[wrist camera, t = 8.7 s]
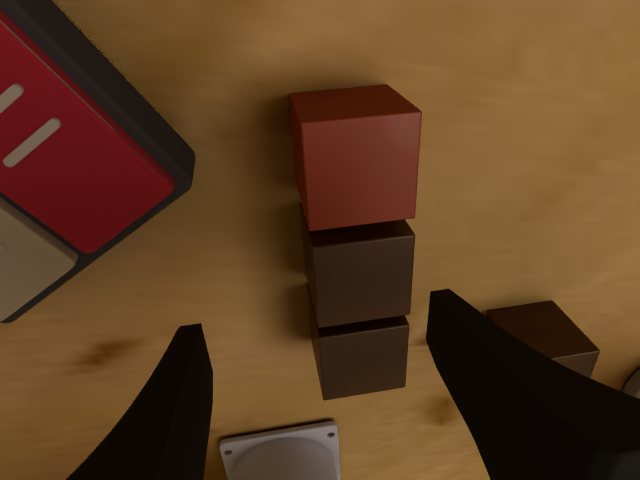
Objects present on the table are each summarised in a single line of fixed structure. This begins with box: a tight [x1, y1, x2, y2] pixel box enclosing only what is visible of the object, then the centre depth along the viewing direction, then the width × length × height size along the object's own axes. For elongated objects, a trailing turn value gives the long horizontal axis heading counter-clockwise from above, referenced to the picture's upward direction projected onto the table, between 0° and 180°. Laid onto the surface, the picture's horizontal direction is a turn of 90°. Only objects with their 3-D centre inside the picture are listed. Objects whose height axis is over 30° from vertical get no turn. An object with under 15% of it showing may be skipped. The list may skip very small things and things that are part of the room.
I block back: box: [486, 301, 600, 378], centre depth 27 cm, size 4×4×4 cm
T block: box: [300, 202, 415, 328], centre depth 21 cm, size 4×4×4 cm
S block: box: [289, 85, 422, 231], centre depth 19 cm, size 4×4×4 cm
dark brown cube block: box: [307, 284, 409, 400], centre depth 24 cm, size 4×4×4 cm
